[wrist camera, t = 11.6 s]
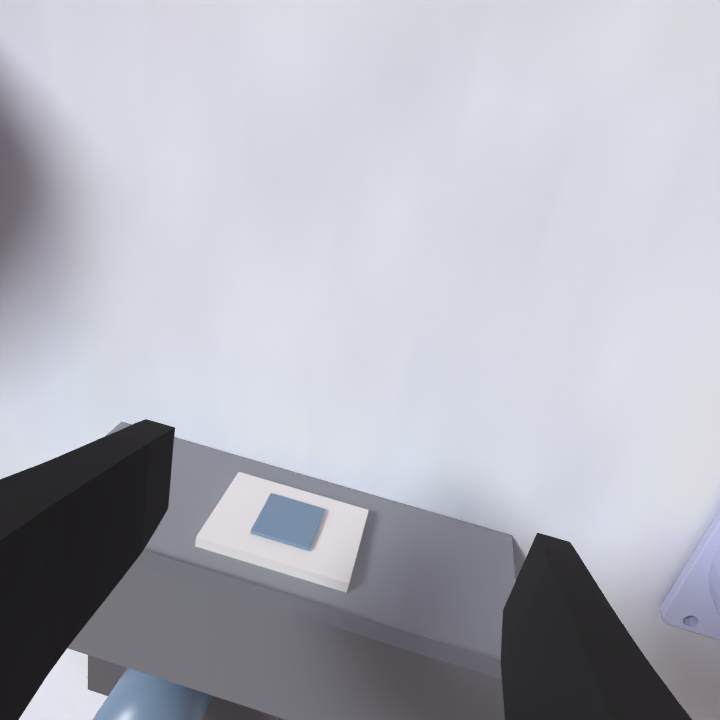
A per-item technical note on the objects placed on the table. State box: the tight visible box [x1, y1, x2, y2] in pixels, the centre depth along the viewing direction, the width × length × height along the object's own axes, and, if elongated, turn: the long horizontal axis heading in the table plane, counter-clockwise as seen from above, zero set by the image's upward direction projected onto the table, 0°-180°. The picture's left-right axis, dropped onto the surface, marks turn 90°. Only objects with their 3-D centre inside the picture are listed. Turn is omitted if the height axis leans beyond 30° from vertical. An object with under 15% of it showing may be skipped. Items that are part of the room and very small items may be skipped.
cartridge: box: [93, 668, 213, 720], centre depth 25 cm, size 4×4×5 cm
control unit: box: [68, 422, 516, 720], centre depth 20 cm, size 17×5×7 cm, turn 78°
